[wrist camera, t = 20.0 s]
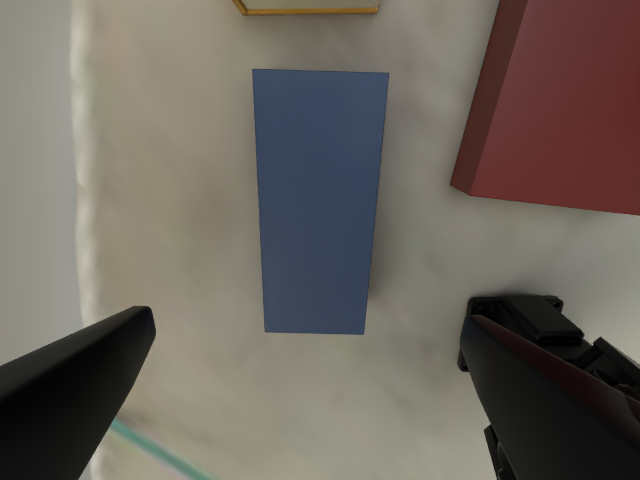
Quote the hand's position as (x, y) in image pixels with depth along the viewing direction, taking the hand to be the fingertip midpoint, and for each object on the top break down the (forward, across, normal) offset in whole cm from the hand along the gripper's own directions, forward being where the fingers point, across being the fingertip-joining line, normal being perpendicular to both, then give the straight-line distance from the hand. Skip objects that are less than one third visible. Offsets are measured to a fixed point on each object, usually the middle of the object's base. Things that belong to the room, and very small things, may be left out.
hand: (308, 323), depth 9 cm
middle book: (+12, 0, 0) cm, 12 cm away
